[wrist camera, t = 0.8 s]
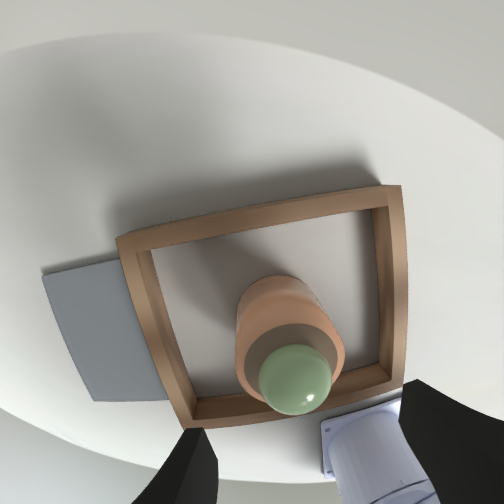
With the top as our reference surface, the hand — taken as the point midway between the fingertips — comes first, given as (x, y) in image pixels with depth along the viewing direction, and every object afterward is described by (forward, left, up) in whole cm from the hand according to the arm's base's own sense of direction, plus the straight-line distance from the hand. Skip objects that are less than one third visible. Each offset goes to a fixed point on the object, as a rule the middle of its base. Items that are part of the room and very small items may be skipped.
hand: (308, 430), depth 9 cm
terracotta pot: (0, 0, -10) cm, 10 cm away
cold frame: (0, 0, -10) cm, 10 cm away
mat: (0, +12, -10) cm, 16 cm away
